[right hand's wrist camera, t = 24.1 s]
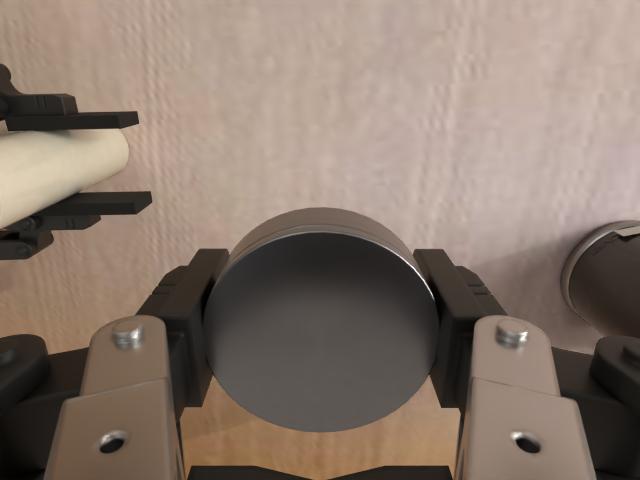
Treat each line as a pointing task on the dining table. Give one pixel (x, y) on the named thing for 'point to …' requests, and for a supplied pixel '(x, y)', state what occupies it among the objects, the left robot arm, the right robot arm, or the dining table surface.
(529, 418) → the right robot arm
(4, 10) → the dining table surface
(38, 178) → the cream capped cylinder
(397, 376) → the lid
